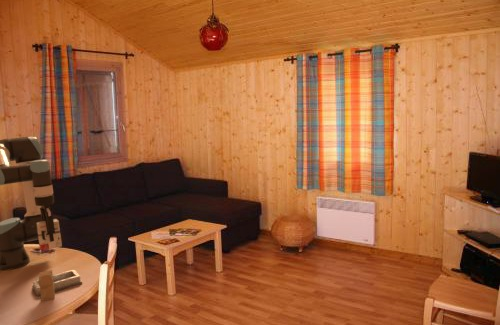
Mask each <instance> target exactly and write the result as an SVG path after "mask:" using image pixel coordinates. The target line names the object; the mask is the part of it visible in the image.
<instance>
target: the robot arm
mask: <svg viewBox="0 0 500 325" xmlns="http://www.w3.org/2000/svg"><path fill="white" fill-rule="evenodd" d="M43 157H44V153H43V148H42V145H41V143H40V140H39V139H38V138H37V137H36V136H25V137H24V136H22V137H15V138H14V137H12V138H3V139H0V186H3V185H11V184H17V183H21V184H22V188H23V197H24V201H25V209H26V213H25V214H24V216H23V217H24V219H21V218H20V217H11V218H8V219H5V220H2V221H0V271H9V270H14V269H19V268H21V267H24V266H26V265H28V264H29V263H30V262H31V259H30V255H29V253H28V251H27V249H26V248H25V246H24V243H26V242H33V241H37V240H39V238H38V231H37V223H38V222H42V221H45V222H46V228H47V234H46V235H47V238H48V245H49V249H48V250H52V249H56V248H57V247H56V243H55V236H54V233H55V228H54V221H53V219H54V216H53V215H54V214H53V213H54V211H53V209H52V208H51V206H50V205H53V204H54V203H55V196H54V188H53V184H52V183H53V181H52V175H51V174H52V173H51V166H50V161H49V160H48V159H42V158H43ZM12 162H15V165H12Z"/></svg>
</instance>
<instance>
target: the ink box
mask: <svg viewBox="0 0 500 325" xmlns="http://www.w3.org/2000/svg"><path fill="white" fill-rule="evenodd" d="M53 221H54V228H55V233H54V236H55V243H56V248H60V247H62V246H63V244H62V235H61V229H60V221H59V220H58V218H53ZM37 231H38V238H39V239H38V244H39V249H40V251H46V250H50V249H49V245H48V238H47V235H46V234H47V228H46V222H45V221H42V222H38V223H37Z"/></svg>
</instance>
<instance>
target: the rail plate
mask: <svg viewBox="0 0 500 325" xmlns="http://www.w3.org/2000/svg"><path fill="white" fill-rule="evenodd" d="M53 283H54V292H55V293H56V292H59V291H62V290H66V289H69V288H73V287H77V286H80V285H82V284H83V281H82V280H81V276H80V274H79V273H78V272H77V271H76V270H75V269H71V270H67V271H63V272H59V273H56V274H53ZM31 287H32V289H33V291H34V292H35V295H36V296H37V297H38V298H41V293H40V284H39V278H38V279H34V280H32V286H31Z"/></svg>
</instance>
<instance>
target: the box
mask: <svg viewBox="0 0 500 325" xmlns="http://www.w3.org/2000/svg"><path fill="white" fill-rule="evenodd" d="M53 275H54V274H53V270H45V271H42V272H41V271H40V272H38V279H39V284H40V293H41V296H40V299H41V300H40V301H41V302H44V301H49V300H54V299H55V298H56V294H55V293H56V292H54V283H53Z"/></svg>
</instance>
